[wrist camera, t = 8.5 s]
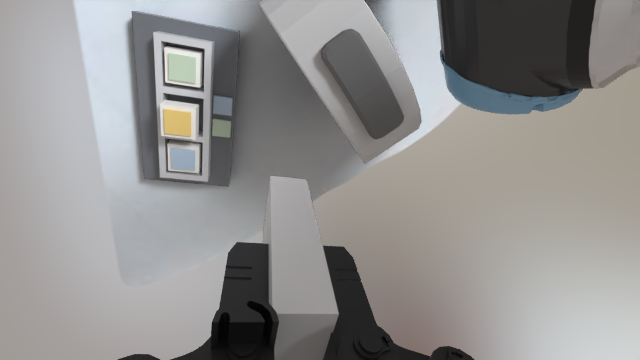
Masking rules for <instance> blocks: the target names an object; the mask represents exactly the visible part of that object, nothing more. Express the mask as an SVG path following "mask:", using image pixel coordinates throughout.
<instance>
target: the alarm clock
mask: <svg viewBox="0 0 640 360" xmlns="http://www.w3.org/2000/svg"><path fill="white" fill-rule="evenodd" d="M259 7H260V8H261V10H262V12H263V13H264V15H265V16H266V18H267V19H268V21H269V22H270V24H271V25H272V27H273V28H274V30H275V31H276V33H277V35H278V36H279V38H280V39H281V41H282V42H283V44H284V45H285V47H286V48H287V50H288V51H289V53H290V54H291V56H292V57H293V59H294V60H295V62H296V63H297V65H298V66H299V68H300V69H301V71H302V72H303V74H304V75H305V77H306V78H307V80H308V81H309V83H310V84H311V86H312V87H313V89H314V90H315V92H316V93H317V95H318V96H319V97H320V99H321V100H322V102H323V103H324V105H325V106H326V108H327V109H328V111H329V112H330V114H331V115H332V117H333V118H334V120H335V121H336V123H337V124H338V126H339V127H340V129H341V130H342V132H343V133H344V135H345V136H346V137H347V139H348V140H349V142H350V143H351V145H352V146H353V148H354V149H355V151H356V152H357V154H358V155H359V156H360V158H361V159H362V161H363V162H364V163H367V162H369V161H370V160H372V159H373V158H375V157H376V156H378V155H379V154H381V153H382V152H384V151H385V150H387V149H388V148H390V147H391V146H393V145H394V144H396V143H397V142H399V141H400V140H402V139H403V138H405V137H407V136H408V135H410V134H411V133H413V132H414V131H416V130H417V129H418V128H419V126H420V124H421V114H420V108H419V105H418V102H417V99H416V95H415V92H414V89H413V87H412V85H411V83H410V80H409V78H408V76H407V74H406V71H405V69H404V67H403V65H402V63H401V61H400V59H399V57H398V55H397V53H396V51H395V50H394V48H393V46H392V44H391V42H390V40H389V38H388V37H387V35H386V33H385V32H384V30H383V28H382V27H381V25H380V24H379V22H378V20H377V19H376V17H375V16H374V14H373V13H372V11H371V9H370V8H369V6H368V5H367V4H366V2H365V1H364V0H262V1H261V2H260V3H259Z"/></svg>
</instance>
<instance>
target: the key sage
mask: <svg viewBox="0 0 640 360" xmlns="http://www.w3.org/2000/svg"><path fill="white" fill-rule="evenodd" d="M164 55H165V82H166V83H173V84H179V85H186V86H192V87H199V88H200V87H201V86H202V85H203V58H204V52H201V51H195V50H190V49H184V48H178V47H173V46H167V47H164Z"/></svg>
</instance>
